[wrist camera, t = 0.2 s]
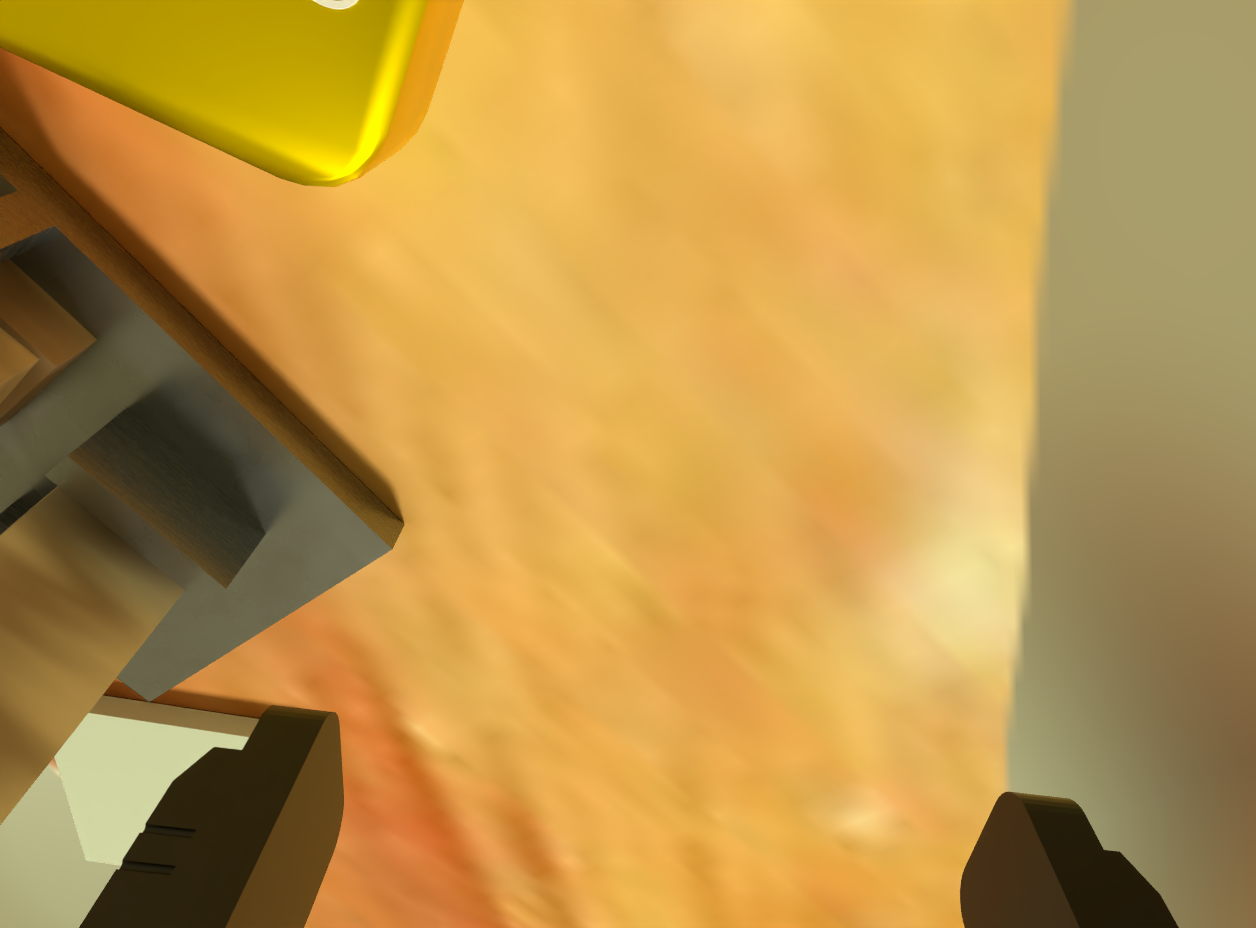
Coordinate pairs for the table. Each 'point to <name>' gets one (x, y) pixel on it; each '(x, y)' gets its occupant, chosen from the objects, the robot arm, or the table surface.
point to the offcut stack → (32, 339)
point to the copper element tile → (254, 71)
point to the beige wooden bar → (65, 629)
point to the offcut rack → (172, 446)
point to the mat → (134, 765)
